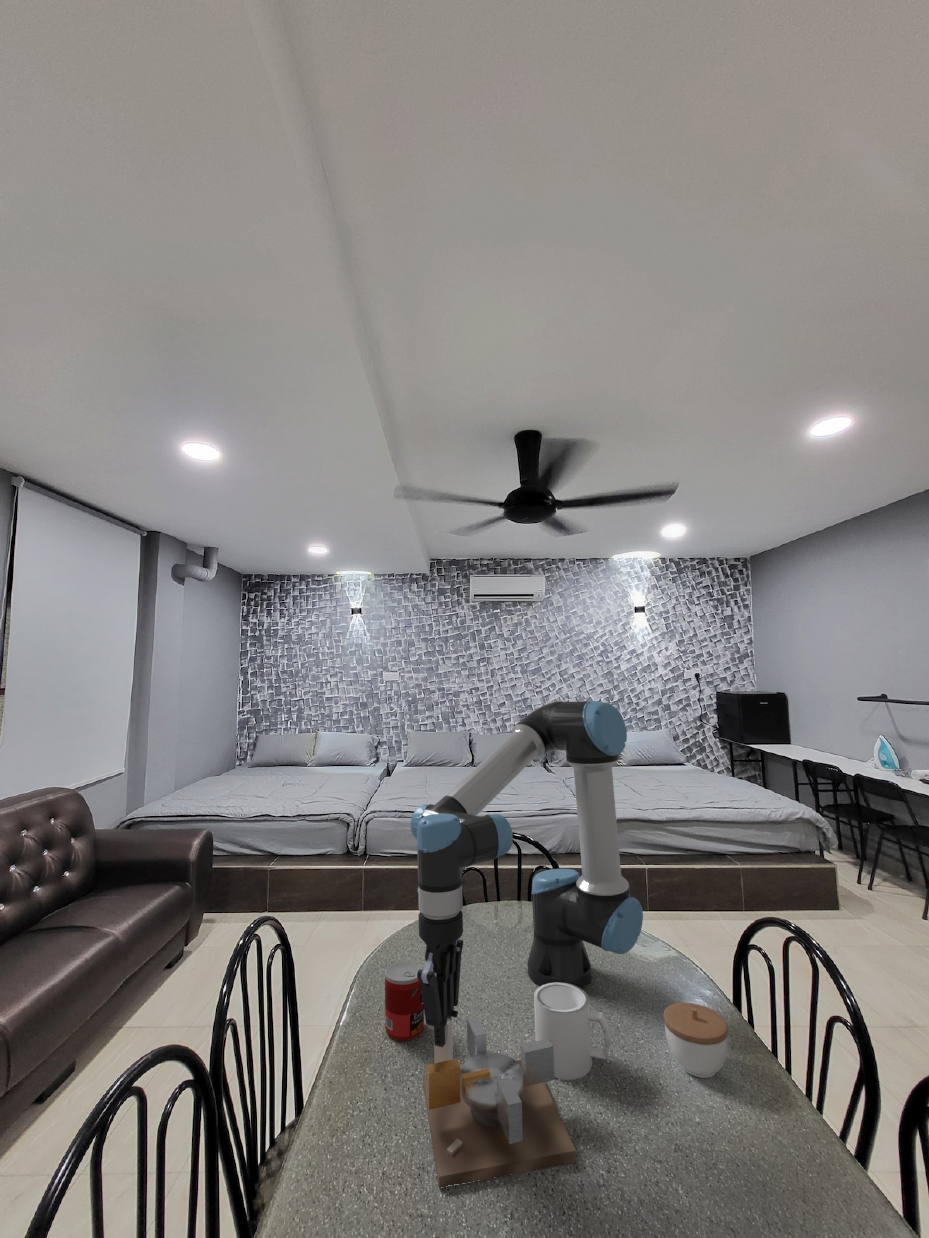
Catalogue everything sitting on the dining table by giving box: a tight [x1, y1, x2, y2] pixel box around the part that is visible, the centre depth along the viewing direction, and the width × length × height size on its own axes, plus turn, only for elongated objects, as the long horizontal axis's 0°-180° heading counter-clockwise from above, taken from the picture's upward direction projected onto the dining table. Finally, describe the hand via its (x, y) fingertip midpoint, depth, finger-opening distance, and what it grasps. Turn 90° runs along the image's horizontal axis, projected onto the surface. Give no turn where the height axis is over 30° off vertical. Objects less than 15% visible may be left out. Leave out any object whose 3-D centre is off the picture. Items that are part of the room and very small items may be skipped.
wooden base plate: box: [422, 1059, 577, 1189], centre depth 85 cm, size 20×20×4 cm
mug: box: [533, 982, 611, 1081], centre depth 98 cm, size 14×10×11 cm
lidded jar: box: [663, 1002, 729, 1079], centre depth 97 cm, size 11×11×9 cm
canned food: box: [384, 961, 425, 1042], centre depth 109 cm, size 8×8×11 cm
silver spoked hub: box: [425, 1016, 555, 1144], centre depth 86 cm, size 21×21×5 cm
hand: (443, 1061), depth 88 cm, fingers closed
